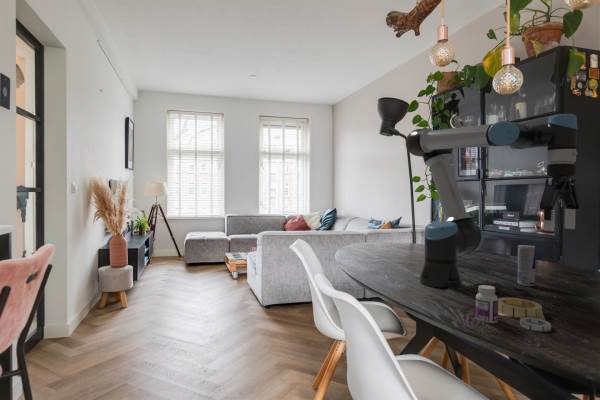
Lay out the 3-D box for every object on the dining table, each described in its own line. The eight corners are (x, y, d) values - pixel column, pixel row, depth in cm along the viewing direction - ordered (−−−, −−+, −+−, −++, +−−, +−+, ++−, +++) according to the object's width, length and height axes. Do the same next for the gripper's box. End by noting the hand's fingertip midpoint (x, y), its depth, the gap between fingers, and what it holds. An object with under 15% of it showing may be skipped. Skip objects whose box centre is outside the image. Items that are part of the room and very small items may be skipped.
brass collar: (496, 314, 99) (496, 305, 99) (496, 303, 109) (496, 295, 109) (544, 321, 94) (544, 311, 94) (538, 309, 104) (539, 300, 104)
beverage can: (537, 287, 131) (538, 247, 131) (521, 286, 132) (521, 246, 132) (531, 283, 137) (531, 244, 136) (515, 282, 138) (515, 244, 137)
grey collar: (521, 331, 89) (521, 323, 89) (519, 323, 95) (519, 315, 95) (552, 336, 86) (552, 328, 86) (548, 327, 92) (548, 320, 92)
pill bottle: (490, 318, 98) (491, 284, 98) (502, 325, 93) (502, 289, 93) (471, 318, 98) (472, 284, 98) (482, 326, 93) (482, 289, 93)
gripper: (554, 161, 104) (552, 233, 104) (593, 164, 116) (591, 228, 117) (527, 162, 110) (526, 230, 111) (566, 165, 123) (564, 226, 123)
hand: (559, 229), depth 114 cm, fingers open, 13 cm apart
